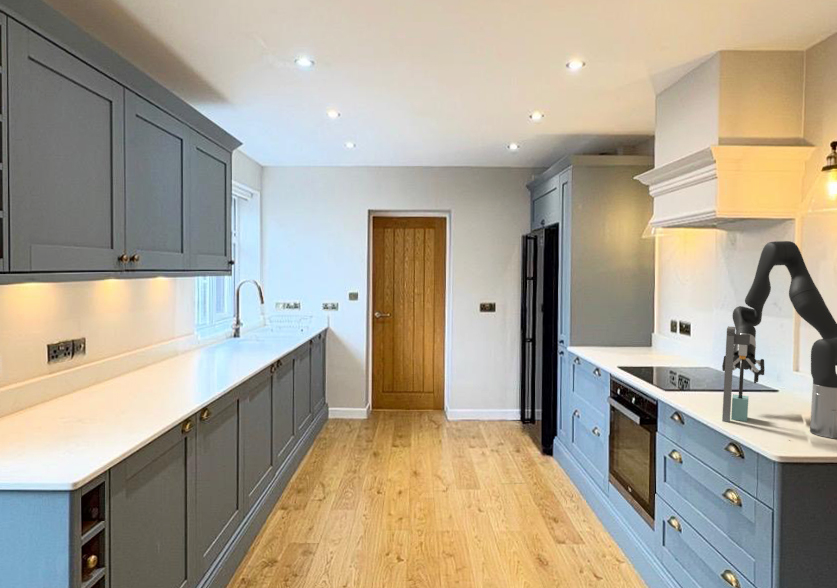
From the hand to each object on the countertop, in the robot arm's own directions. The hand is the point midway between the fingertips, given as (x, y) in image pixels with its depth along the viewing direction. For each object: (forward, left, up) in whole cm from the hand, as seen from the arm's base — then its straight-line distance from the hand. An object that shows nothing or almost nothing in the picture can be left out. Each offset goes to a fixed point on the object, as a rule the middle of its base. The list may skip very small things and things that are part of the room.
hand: (742, 380), depth 218 cm
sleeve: (-6, +7, -12) cm, 15 cm away
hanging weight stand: (-8, +12, -13) cm, 20 cm away
